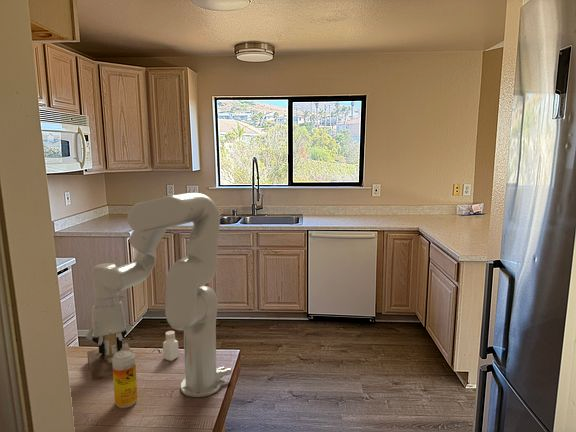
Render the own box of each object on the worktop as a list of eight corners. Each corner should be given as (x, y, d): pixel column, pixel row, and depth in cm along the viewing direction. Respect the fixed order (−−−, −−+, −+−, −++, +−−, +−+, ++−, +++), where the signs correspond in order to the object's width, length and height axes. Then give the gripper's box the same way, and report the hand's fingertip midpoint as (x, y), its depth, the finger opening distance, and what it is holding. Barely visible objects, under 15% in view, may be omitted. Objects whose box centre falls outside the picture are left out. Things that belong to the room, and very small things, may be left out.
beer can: (123, 411, 110) (120, 361, 108) (110, 404, 114) (107, 355, 112) (142, 400, 116) (139, 352, 114) (128, 394, 119) (126, 347, 117)
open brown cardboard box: (127, 353, 145) (126, 338, 144) (135, 370, 133) (134, 353, 132) (88, 362, 138) (86, 346, 137) (92, 381, 126) (91, 364, 125)
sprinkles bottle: (119, 362, 134) (117, 324, 133) (105, 366, 132) (102, 327, 130) (117, 356, 138) (114, 319, 136) (103, 360, 136) (100, 322, 134)
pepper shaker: (162, 358, 140) (161, 333, 139) (171, 354, 144) (170, 329, 142) (170, 361, 138) (169, 336, 137) (179, 357, 142) (178, 331, 140)
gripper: (131, 293, 140) (134, 342, 142) (77, 302, 131) (82, 354, 133) (136, 299, 133) (139, 350, 136) (79, 309, 125) (84, 363, 127)
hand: (110, 351), depth 134 cm, fingers closed on sprinkles bottle, 4 cm apart
